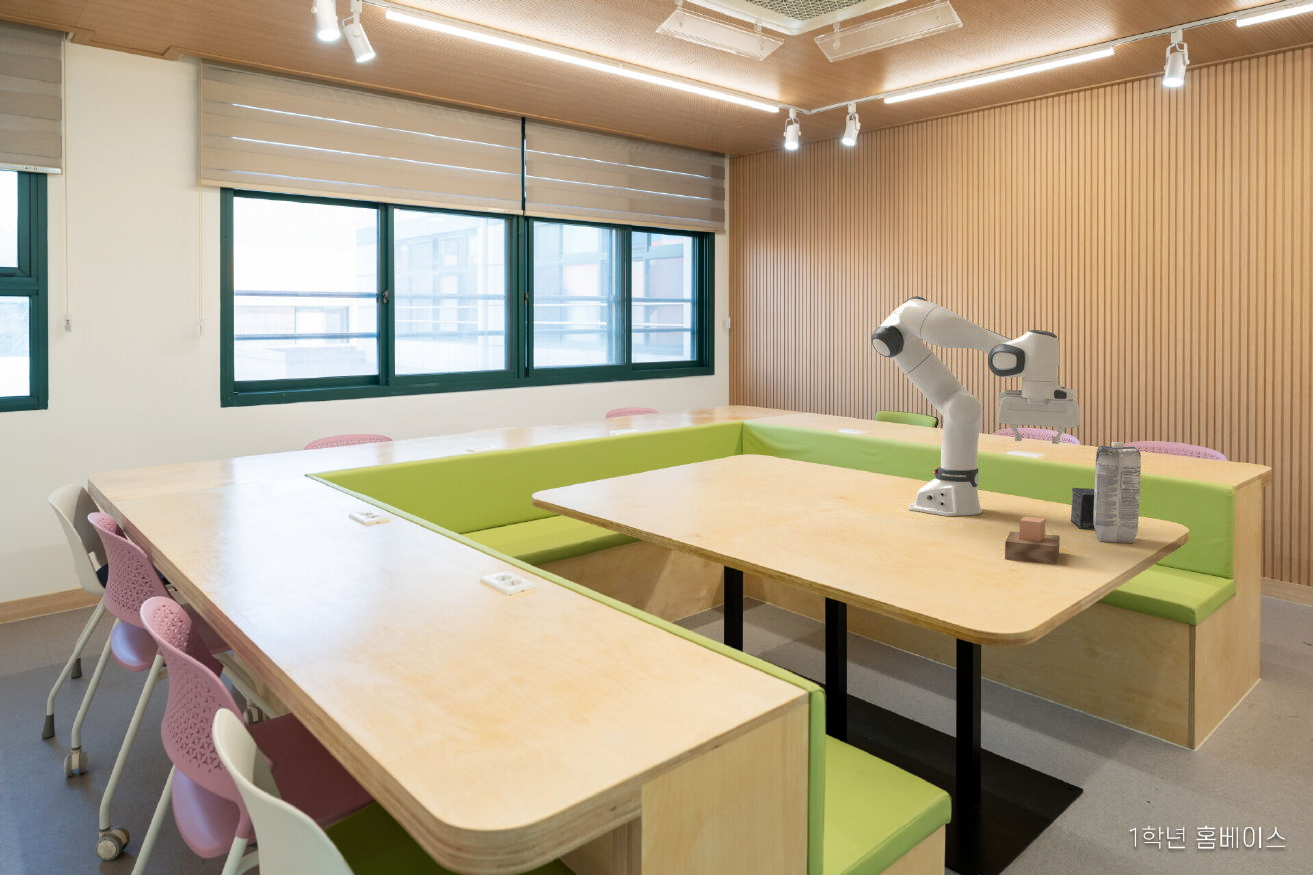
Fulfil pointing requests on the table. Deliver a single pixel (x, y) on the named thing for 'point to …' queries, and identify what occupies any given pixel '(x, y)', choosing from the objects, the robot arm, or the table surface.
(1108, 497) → the juice carton
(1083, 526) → the small box
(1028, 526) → the terracotta cube
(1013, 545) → the walnut block
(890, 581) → the table surface
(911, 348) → the robot arm
